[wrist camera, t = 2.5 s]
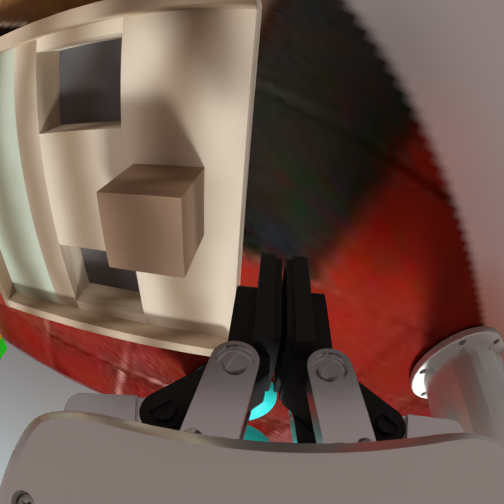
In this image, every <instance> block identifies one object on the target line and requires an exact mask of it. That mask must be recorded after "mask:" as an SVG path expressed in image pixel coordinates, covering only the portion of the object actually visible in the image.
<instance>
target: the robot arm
mask: <svg viewBox="0 0 504 504" xmlns="http://www.w3.org/2000/svg"><path fill="white" fill-rule="evenodd" d="M502 351H503V340H502V337H501V336H500V334H499V333H498V331H497V330H496V329H494V328H491V327H482V326H480V327H474V328H469V329H466V330H463V331H461V332H458V333H456V334H454V335H452V336H450V337H448V338H446V339H445V340H443V341H441V342H440V343H438V344H437V345H435V346H434V347H433V348H432V349H430V350H429V351H428V352H427V353H426V354H425V355H424V356H423V357H422V358H421V359H420V360H419V361H418V363H417V364H416V365H415V367H414V369H413V371H412V373H411V376H410V384H411V387H412V391H413V392H414V393H415V394H416V395H417V396H419V397H422V398H427V399H428V402H429V406H430V410H431V414H432V417H424V416H416V415H409V414H408V415H407V416H406V417H404V416H402V415H401V414H400V413H399V412H398V411H396V410H395V409H394V408H392V407H391V406H390V405H388V404H387V403H386V402H384V401H383V400H382V399H380V398H379V397H378V396H376V395H375V394H374V393H373V392H371V391H370V390H369V389H367V388H366V387H365V386H363V385H362V384H361V383H360V382H358V381H357V378H356V375H355V372H354V369H353V366H352V363H351V361H350V360H349V358H348V357H347V356H346V355H345V354H343V353H341V352H340V351H338V350H334V349H332V342H331V335H330V327H329V320H328V313H327V306H326V299H325V295H324V294H317V293H311V288H310V278H309V270H308V261H307V257H297V256H292V258H291V260H288V259H286V261H285V267H284V273H283V279H282V259H279V258H276V254H269V253H262V254H261V263H260V272H259V280H258V288H255V287H245V286H237V289H236V295H235V301H234V307H233V312H232V318H231V324H230V330H229V336H228V341H227V342H224V343H222V344H220V345H218V346H217V347H216V348H215V349H214V350H213V352H212V353H211V356H210V358H209V361H208V363H207V365H205V366H203V367H201V368H199V369H198V370H196V371H194V372H192V373H190V374H188V375H187V376H185V377H183V378H181V379H179V380H177V381H175V382H174V383H172V384H170V385H168V386H166V387H164V388H162V389H160V390H158V391H156V392H154V393H152V394H151V395H149V396H148V397H146V398H137V397H136V395H111V394H92V393H79V394H75V395H73V396H71V397H70V398H69V399H68V401H67V402H66V405H65V408H64V411H57V412H51V413H46V414H43V415H40V416H38V417H37V418H35V419H34V420H33V421H32V422H31V423H30V424H29V425H28V426H27V428H26V429H25V430H24V432H23V434H22V435H21V437H20V439H19V441H18V443H17V445H16V447H15V449H14V451H13V453H12V456H11V458H10V460H9V463H8V466H7V468H6V471H5V474H4V476H3V479H2V483H1V486H0V504H504V363H503V361H502V359H501V354H502ZM273 373H274V388H273V390H274V392H279V400H280V401H282V404H283V405H284V406H285V407H286V408H287V409H289V419H290V425H291V431H292V438H293V443H281V442H264V441H252V440H244V436H245V433H246V429H247V426H248V422H249V418H250V415H251V410H252V409H254V408H255V407H257V406H258V405H260V404H261V403H262V402H263V400H264V396H265V391H269V389H270V385H271V381H272V377H273Z"/></svg>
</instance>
